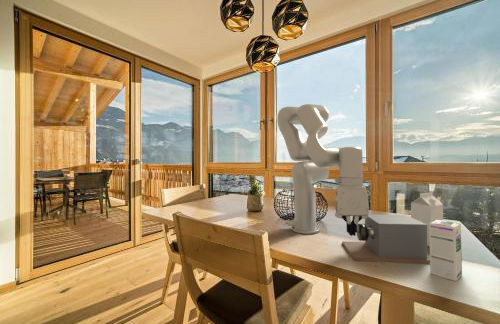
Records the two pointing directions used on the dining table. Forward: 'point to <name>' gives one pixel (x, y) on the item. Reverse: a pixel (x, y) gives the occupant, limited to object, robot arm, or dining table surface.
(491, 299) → the dining table surface
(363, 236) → the shaft
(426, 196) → the milk carton
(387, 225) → the block
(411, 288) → the dining table surface
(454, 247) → the syrup box
